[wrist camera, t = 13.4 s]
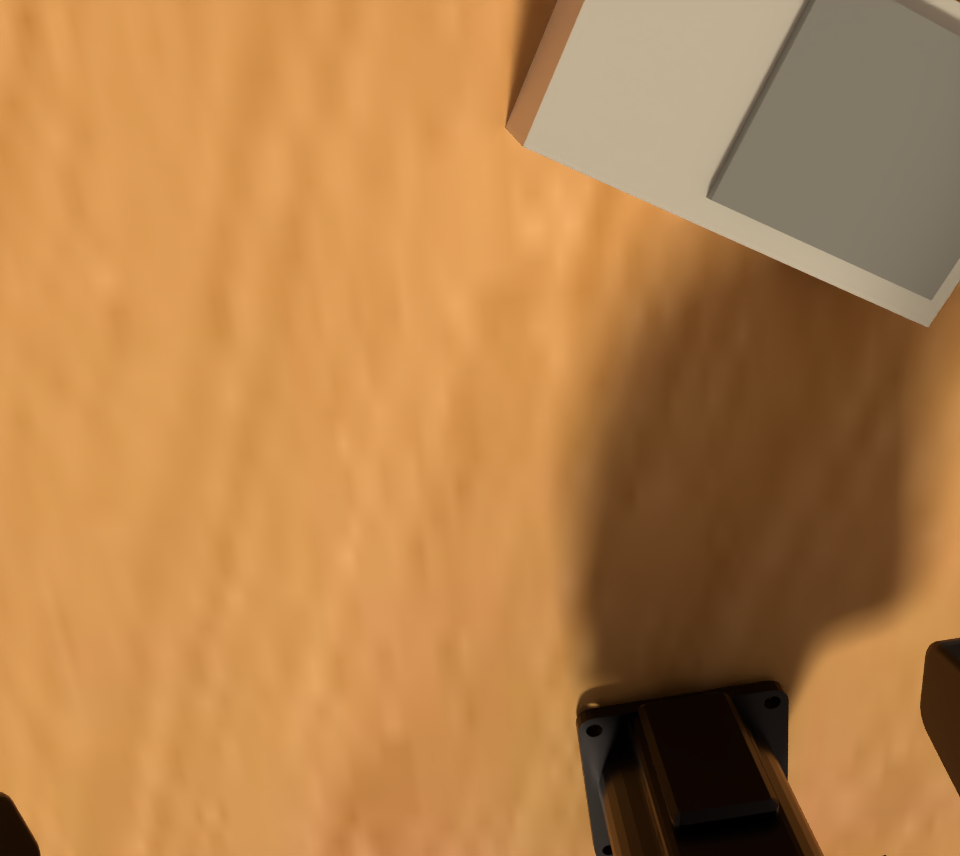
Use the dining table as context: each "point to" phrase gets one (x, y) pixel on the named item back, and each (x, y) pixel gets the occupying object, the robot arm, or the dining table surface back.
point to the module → (770, 128)
